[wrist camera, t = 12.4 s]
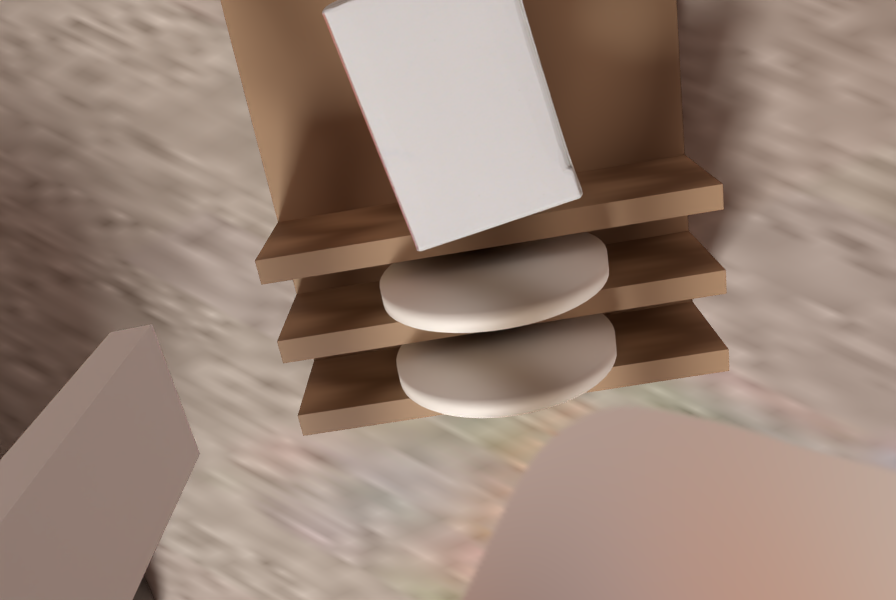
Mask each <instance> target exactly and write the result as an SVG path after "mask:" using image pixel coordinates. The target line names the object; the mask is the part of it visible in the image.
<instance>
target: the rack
mask: <svg viewBox="0 0 896 600" xmlns="http://www.w3.org/2000/svg"><path fill="white" fill-rule="evenodd" d="M335 1H337V0H221V4H222V8H223V12H224V16H225V20H226V24H227V27H228V31H229V35H230V39H231V43H232V47H233V51H234V54H235V58H236V62H237V66H238V70H239V74H240V78H241V81H242V85H243V89H244V93H245V97H246V101H247V105H248V108H249V112H250V116H251V120H252V124H253V128H254V131H255V135H256V139H257V143H258V147H259V151H260V155H261V158H262V162H263V166H264V170H265V174H266V178H267V182H268V185H269V189H270V193H271V197H272V201H273V205H274V209H275V212H276V216H277V220H278V223H277V225H276V227H275V228H274V230H273V232H272V233H271V235H270V237H269V238H268V240H267V242H266V243H265V245H264V247H263V248H262V250H261V252H260V253H259V255H258V257H257V258H256V260H255V263H256V267H257V270H258V274H259V277H260V281H261V285H262V284H268V283H274V282H280V281H287V280H293V282H294V286H295V289H296V293H297V295H296V297H295V300H294V302H293V304H292V307H291V309H290V312H289V314H288V317H287V319H286V321H285V324H284V326H283V329H282V331H281V334H280V336H279V338H278V341H277V342H278V346H279V350H280V353H281V357H282V361H283V363H288V362H295V361H301V360H307V359H314V363H313V367H312V370H311V373H310V377H309V380H308V383H307V387H306V390H305V393H304V397H303V400H302V403H301V406H300V410H299V413H298V418H299V422H300V426H301V429H302V433H303V436H305V435H312V434H318V433H325V432H331V431H338V430H344V429H351V428H358V427H364V426H371V425H377V424H384V423H390V422H397V421H403V420H410V419H416V418H423V417H429V416H436V415H443V414H447V415H452V416H458V417H467V418H498V417H508V416H517V415H522V414H527V413H533V412H536V411H540V410H544V409H548V408H551V407H554V406H557V405H560V404H562V403H565V402H567V401H569V400H572V399H574V398H576V397H578V396H580V395H582V394H583V393H586V392H593V391H600V390H606V389H613V388H619V387H626V386H632V385H639V384H645V383H652V382H658V381H665V380H672V379H678V378H685V377H691V376H698V375H704V374H711V373H717V372H724V371H729V349H728V348H727V347H726V345H725V344H724V343H723V341H722V340H721V339H720V337H719V336H718V335H717V333H716V332H715V331H714V329H713V328H712V327H711V325H710V324H709V323H708V322H707V320H706V319H705V318H704V316H703V315H702V314H701V312H700V311H699V310H698V308H697V307H696V306H695V304H694V303H693V302H692V299H694V298H701V297H707V296H713V295H720V294H726V293H727V292H726V270H725V269H724V268H723V267H722V266H721V265H720V264H719V262H718V261H717V260H716V259H715V258H714V257H713V256H712V255H711V254H710V253H709V252H708V251H707V250H706V249H705V248H704V247H703V245H702V244H701V243H700V242H699V241H698V240H697V239H696V238H695V237H694V236H693V235H692V234H691V233H690V232H689V228H688V215H692V214H698V213H704V212H711V211H717V210H723V209H724V207H723V184H722V183H721V182H719V181H718V180H717V179H716V178H714V177H713V176H712V175H710V174H709V173H708V172H707V171H705V170H704V169H703V168H701V167H700V166H699V165H697V164H696V163H695V162H694V161H692V160H691V159H690V158H688V157H687V156H686V155H685V153H684V134H683V115H682V96H681V78H680V59H679V40H678V21H677V3H676V0H523V4H524V8H525V11H526V15H527V18H528V21H529V25H530V28H531V31H532V35H533V38H534V41H535V45H536V48H537V51H538V55H539V58H540V62H541V65H542V68H543V71H544V75H545V78H546V81H547V85H548V88H549V91H550V94H551V98H552V101H553V104H554V107H555V111H556V114H557V117H558V121H559V124H560V127H561V130H562V133H563V136H564V139H565V143H566V146H567V149H568V152H569V155H570V158H571V161H572V164H573V166H574V169H575V172H576V175H577V178H578V180H579V183H580V185H581V188H582V192H583V194H582V196H581V198H579V199H576V200H573V201H570V202H567V203H564V204H561V205H558V206H555V207H552V208H549V209H546V210H544V211H541V212H538V213H535V214H532V215H529V216H526V217H523V218H520V219H517V220H514V221H511V222H508V223H505V224H502V225H499V226H496V227H493V228H490V229H487V230H484V231H481V232H478V233H475V234H472V235H469V236H466V237H463V238H460V239H457V240H454V241H451V242H448V243H445V244H442V245H439V246H436V247H433V248H430V249H427V250H424V251H417V249H416V246H415V244H414V241H413V238H412V236H411V234H410V231H409V229H408V226H407V224H406V221H405V219H404V217H403V214H402V212H401V209H400V206H399V204H398V201H397V199H396V196H395V194H394V191H393V189H392V186H391V184H390V181H389V179H388V176H387V174H386V171H385V169H384V167H383V164H382V162H381V159H380V157H379V154H378V152H377V149H376V147H375V144H374V142H373V139H372V137H371V134H370V132H369V129H368V127H367V124H366V122H365V119H364V117H363V114H362V112H361V109H360V107H359V104H358V102H357V99H356V97H355V94H354V92H353V89H352V87H351V84H350V82H349V79H348V77H347V74H346V72H345V69H344V67H343V64H342V62H341V59H340V57H339V54H338V52H337V49H336V47H335V44H334V42H333V39H332V37H331V34H330V32H329V29H328V27H327V24H326V22H325V19H324V17H323V15H322V11H323V9H324V8H325V7H326V6H328V5H329V4H331V3H333V2H335Z"/></svg>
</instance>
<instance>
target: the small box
mask: <svg viewBox="0 0 896 600" xmlns="http://www.w3.org/2000/svg"><path fill="white" fill-rule="evenodd" d="M322 15H323V17H324V19H325V22H326V24H327V27H328V29H329V32H330V34H331V37H332V39H333V42H334V44H335V47H336V49H337V52H338V54H339V57H340V59H341V62H342V64H343V67H344V69H345V72H346V74H347V77H348V79H349V82H350V84H351V87H352V89H353V92H354V94H355V97H356V99H357V102H358V104H359V107H360V109H361V112H362V114H363V117H364V119H365V122H366V124H367V127H368V129H369V132H370V134H371V137H372V139H373V142H374V144H375V147H376V149H377V152H378V154H379V157H380V159H381V162H382V164H383V167H384V169H385V171H386V174H387V176H388V179H389V181H390V184H391V186H392V189H393V191H394V194H395V196H396V199H397V201H398V204H399V206H400V209H401V212H402V214H403V217H404V219H405V221H406V224H407V226H408V229H409V231H410V234H411V236H412V238H413V241H414V244H415V246H416V249H417V251H424V250H427V249H430V248H433V247H436V246H439V245H442V244H445V243H448V242H451V241H454V240H457V239H460V238H463V237H466V236H469V235H472V234H475V233H478V232H481V231H484V230H487V229H490V228H493V227H496V226H499V225H502V224H505V223H508V222H511V221H514V220H517V219H520V218H523V217H526V216H529V215H532V214H535V213H538V212H541V211H544V210H546V209H549V208H552V207H555V206H558V205H561V204H564V203H567V202H570V201H573V200H576V199H579V198H581V196H582V194H583V192H582V188H581V185H580V183H579V180H578V178H577V175H576V172H575V169H574V166H573V164H572V161H571V158H570V155H569V152H568V149H567V146H566V143H565V139H564V136H563V133H562V130H561V127H560V124H559V121H558V117H557V114H556V111H555V107H554V104H553V101H552V98H551V94H550V91H549V88H548V85H547V81H546V78H545V75H544V71H543V68H542V65H541V62H540V58H539V55H538V51H537V48H536V45H535V41H534V38H533V35H532V31H531V28H530V25H529V21H528V18H527V15H526V11H525V8H524V4H523V0H337V1H335V2H333V3H331V4H329V5H328V6H326V7H325V8H324V9H323V11H322Z"/></svg>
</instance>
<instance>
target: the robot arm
mask: <svg viewBox="0 0 896 600" xmlns="http://www.w3.org/2000/svg"><path fill="white" fill-rule="evenodd" d="M199 455H200V453H199V450H198V447H197V445H196V442H195V439H194V437H193V434H192V431H191V428H190V426H189V423H188V420H187V418H186V415H185V412H184V409H183V407H182V404H181V401H180V399H179V396H178V393H177V390H176V388H175V385H174V382H173V380H172V377H171V374H170V371H169V369H168V366H167V363H166V361H165V358H164V355H163V353H162V350H161V347H160V344H159V342H158V339H157V336H156V334H155V331H154V328H153V325H152V324H149V325H144V326H139V327H134V328H129V329H123V330H118V331H113V332H110V333H109V334H108V335H107V337H106V338H105V339H104V340H103V341H102V342H101V344H100V345H99V346H98V347H97V348H96V349H95V350H94V352H93V353H92V354H91V355H90V356H89V357H88V359H87V360H86V361H85V362H84V363H83V364H82V366H81V367H80V368H79V369H78V370H77V371H76V373H75V374H74V375H73V376H72V377H71V378H70V380H69V381H68V382H67V383H66V384H65V385H64V387H63V388H62V389H61V390H60V391H59V392H58V394H57V395H56V396H55V397H54V398H53V399H52V400H51V402H50V403H49V404H48V405H47V406H46V407H45V409H44V410H43V411H42V412H41V413H40V414H39V416H38V417H37V418H36V419H35V420H34V421H33V423H32V424H31V425H30V426H29V427H28V428H27V430H26V431H25V432H24V433H23V434H22V435H21V437H20V438H19V439H18V440H17V441H16V442H15V444H14V445H13V446H12V447H11V448H10V449H9V450H8V452H7V453H6V454H5V455H4V456H3V457H2V459H1V460H0V600H154V599H153V596H152V593H151V591H150V589H149V586H148V584H147V582H146V581H145V579H144V577H143V576H144V574H145V572H146V569H147V567H148V565H149V563H150V561H151V559H152V556H153V554H154V552H155V550H156V548H157V546H158V543H159V541H160V539H161V537H162V535H163V533H164V530H165V528H166V526H167V524H168V522H169V520H170V517H171V515H172V513H173V511H174V509H175V507H176V504H177V502H178V500H179V498H180V496H181V494H182V491H183V489H184V487H185V485H186V483H187V481H188V478H189V476H190V474H191V472H192V470H193V468H194V465H195V463H196V461H197V459H198V457H199Z"/></svg>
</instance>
